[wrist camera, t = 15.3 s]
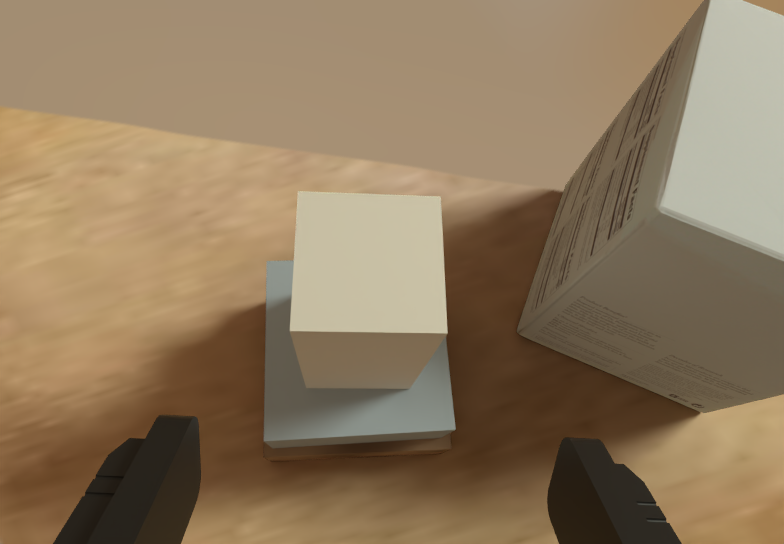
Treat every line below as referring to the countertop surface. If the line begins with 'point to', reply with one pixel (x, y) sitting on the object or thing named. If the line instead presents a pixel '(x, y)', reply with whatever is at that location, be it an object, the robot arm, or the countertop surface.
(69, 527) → the robot arm
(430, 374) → the slate-blue top block
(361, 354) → the cream block
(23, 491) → the countertop surface
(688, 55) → the supplement box
